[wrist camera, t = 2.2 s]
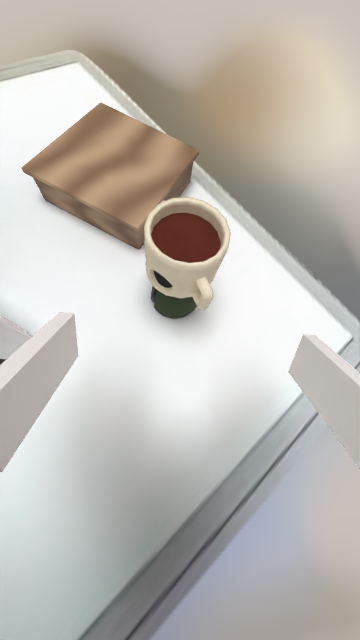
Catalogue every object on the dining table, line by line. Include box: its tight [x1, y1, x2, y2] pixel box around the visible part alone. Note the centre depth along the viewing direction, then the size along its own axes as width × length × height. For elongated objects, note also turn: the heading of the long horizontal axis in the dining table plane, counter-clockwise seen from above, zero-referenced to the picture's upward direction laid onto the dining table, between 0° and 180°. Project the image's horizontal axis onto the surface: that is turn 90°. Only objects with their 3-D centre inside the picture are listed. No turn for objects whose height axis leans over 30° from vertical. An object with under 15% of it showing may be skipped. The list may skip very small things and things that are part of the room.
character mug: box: [144, 197, 231, 318], centre depth 24 cm, size 11×7×13 cm, turn 23°
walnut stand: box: [22, 103, 199, 249], centre depth 33 cm, size 17×17×5 cm
